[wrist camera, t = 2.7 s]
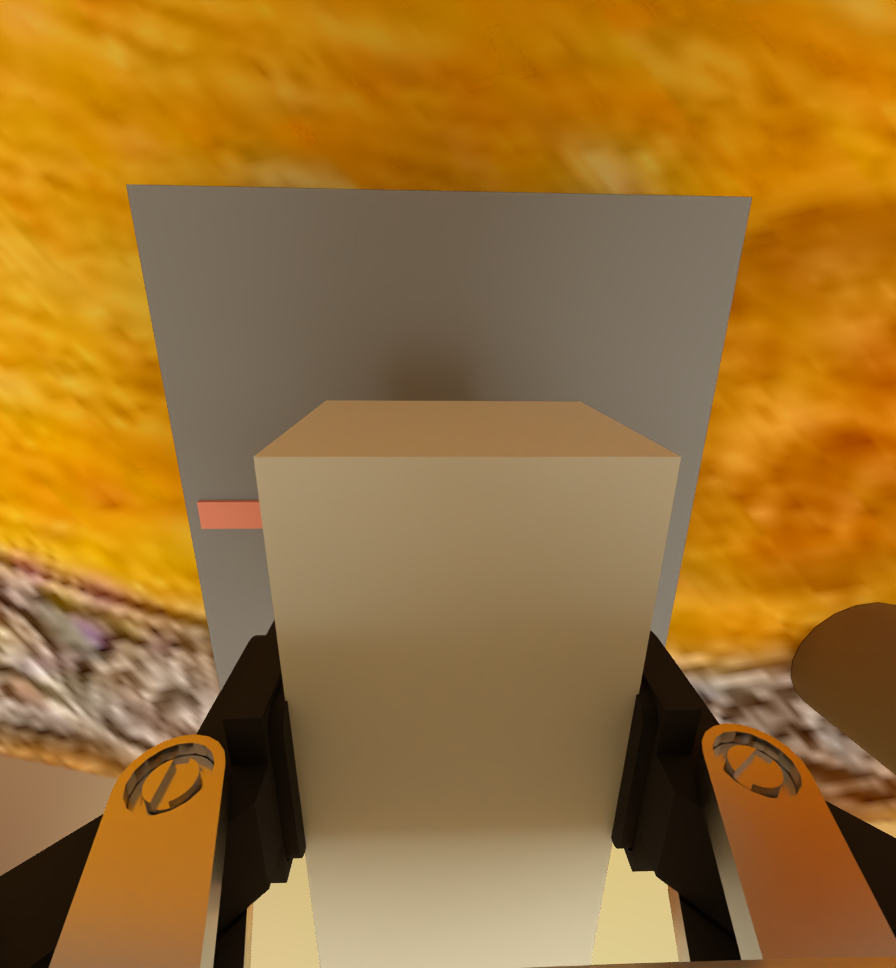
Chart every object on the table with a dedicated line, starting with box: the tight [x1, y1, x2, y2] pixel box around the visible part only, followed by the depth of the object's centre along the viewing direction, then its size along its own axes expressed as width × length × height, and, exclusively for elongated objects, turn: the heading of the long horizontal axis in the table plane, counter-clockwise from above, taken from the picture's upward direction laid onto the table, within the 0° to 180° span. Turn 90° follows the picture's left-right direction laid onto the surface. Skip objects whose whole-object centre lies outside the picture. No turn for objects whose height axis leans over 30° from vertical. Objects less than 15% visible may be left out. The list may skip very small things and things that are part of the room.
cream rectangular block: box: [254, 400, 681, 968], centre depth 11 cm, size 10×6×7 cm, turn 0°
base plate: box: [126, 185, 752, 692], centre depth 16 cm, size 20×18×4 cm
